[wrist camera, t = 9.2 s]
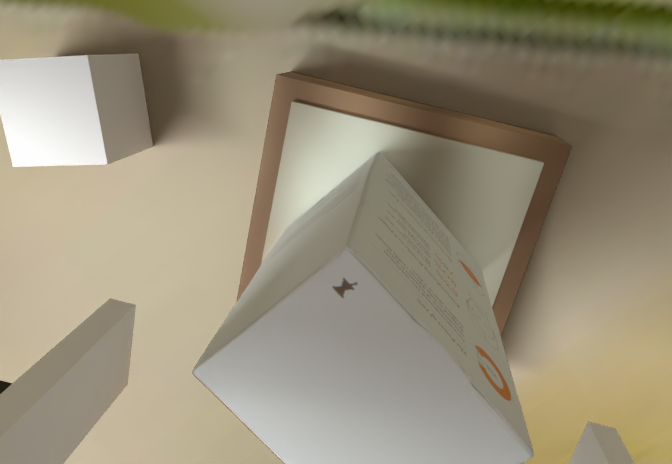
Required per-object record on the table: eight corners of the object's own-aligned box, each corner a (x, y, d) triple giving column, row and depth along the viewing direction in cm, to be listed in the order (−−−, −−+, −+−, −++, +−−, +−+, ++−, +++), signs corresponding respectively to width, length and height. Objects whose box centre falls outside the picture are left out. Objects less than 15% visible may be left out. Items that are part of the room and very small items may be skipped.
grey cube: (72, 148, 32) (13, 166, 27) (53, 58, 30) (-13, 60, 25) (153, 146, 31) (107, 164, 26) (139, 53, 29) (87, 55, 25)
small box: (284, 228, 28) (181, 371, 16) (379, 147, 26) (348, 238, 14) (387, 340, 29) (367, 554, 17) (485, 271, 27) (544, 457, 15)
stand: (247, 305, 33) (229, 331, 30) (290, 71, 29) (275, 74, 25) (472, 365, 33) (479, 398, 29) (556, 135, 28) (573, 147, 25)
